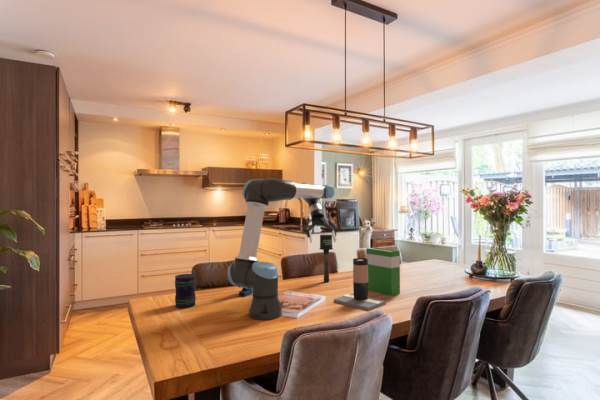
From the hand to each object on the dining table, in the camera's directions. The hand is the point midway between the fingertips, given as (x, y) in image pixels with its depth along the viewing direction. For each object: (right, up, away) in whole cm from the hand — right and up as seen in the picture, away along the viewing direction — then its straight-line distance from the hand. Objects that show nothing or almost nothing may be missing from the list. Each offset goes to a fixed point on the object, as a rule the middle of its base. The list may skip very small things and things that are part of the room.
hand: (323, 241), depth 194 cm
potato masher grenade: (+4, -30, +31) cm, 43 cm away
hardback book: (+34, -30, +6) cm, 46 cm away
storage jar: (-70, -30, -18) cm, 79 cm away
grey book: (+17, -29, -16) cm, 38 cm away
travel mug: (+18, -28, -14) cm, 36 cm away
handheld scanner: (-42, -30, +3) cm, 52 cm away
